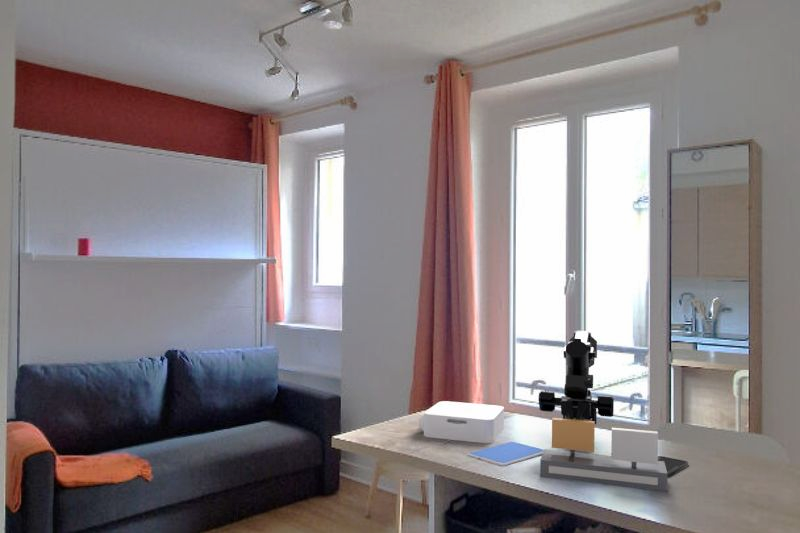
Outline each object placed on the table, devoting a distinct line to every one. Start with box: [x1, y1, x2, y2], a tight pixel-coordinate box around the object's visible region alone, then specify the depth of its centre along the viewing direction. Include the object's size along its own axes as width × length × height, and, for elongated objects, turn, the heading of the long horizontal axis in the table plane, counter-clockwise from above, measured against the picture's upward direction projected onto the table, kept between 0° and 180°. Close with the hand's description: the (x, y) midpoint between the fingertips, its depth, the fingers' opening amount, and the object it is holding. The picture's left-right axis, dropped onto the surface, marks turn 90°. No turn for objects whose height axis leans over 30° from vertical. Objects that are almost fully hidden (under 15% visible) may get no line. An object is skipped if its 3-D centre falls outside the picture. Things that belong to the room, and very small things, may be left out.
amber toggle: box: [551, 417, 596, 454], centre depth 158 cm, size 2×10×8 cm, turn 72°
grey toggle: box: [610, 427, 659, 466], centre depth 149 cm, size 2×10×8 cm, turn 71°
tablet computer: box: [467, 441, 545, 467], centre depth 172 cm, size 19×13×1 cm, turn 132°
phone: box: [658, 455, 689, 478], centre depth 163 cm, size 8×1×15 cm
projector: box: [418, 400, 505, 444], centre depth 196 cm, size 21×22×7 cm
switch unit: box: [539, 448, 668, 492], centre depth 154 cm, size 10×28×4 cm, turn 72°
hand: (574, 431), depth 162 cm, fingers closed
